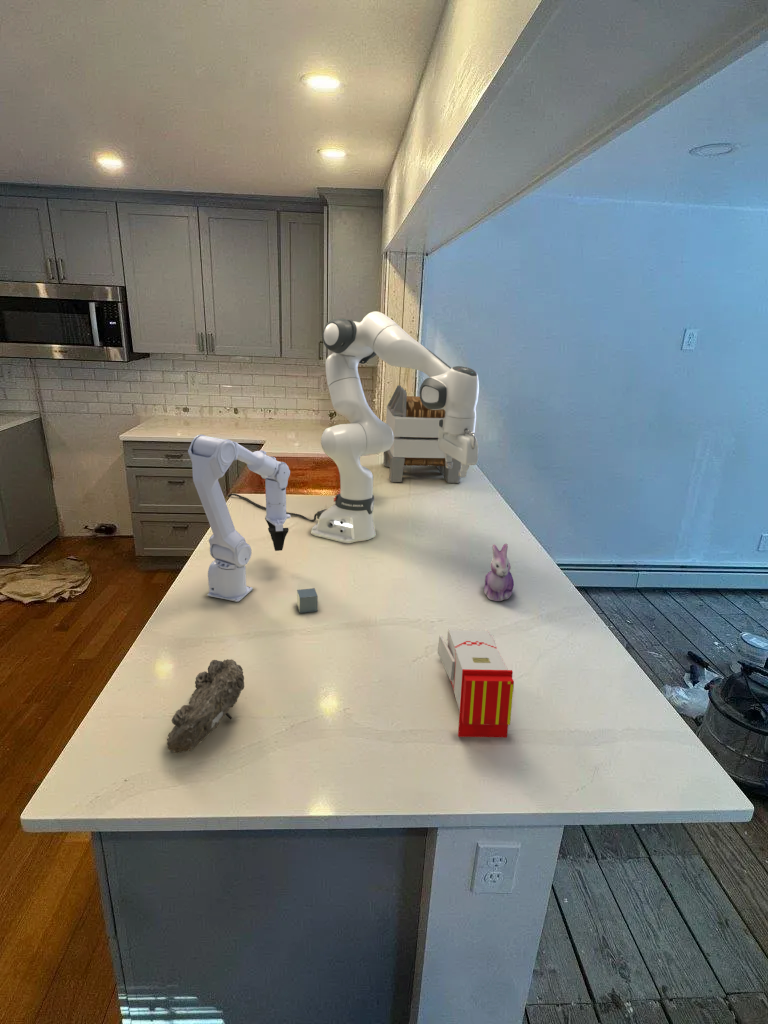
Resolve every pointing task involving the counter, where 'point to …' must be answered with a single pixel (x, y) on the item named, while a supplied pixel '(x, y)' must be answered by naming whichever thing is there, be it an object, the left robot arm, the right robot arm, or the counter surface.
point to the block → (307, 600)
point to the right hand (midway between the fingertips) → (455, 472)
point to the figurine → (499, 576)
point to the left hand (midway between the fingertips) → (277, 545)
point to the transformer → (415, 437)
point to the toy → (478, 682)
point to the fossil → (206, 705)
